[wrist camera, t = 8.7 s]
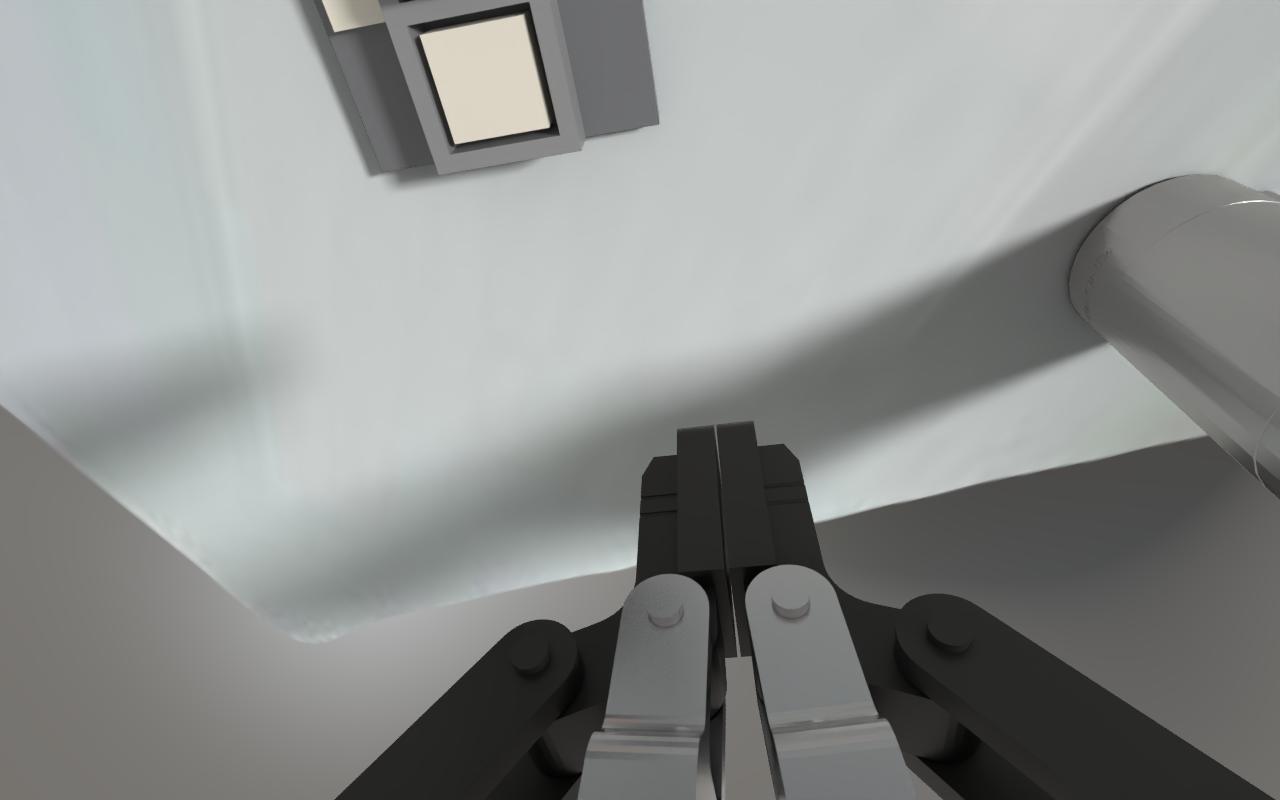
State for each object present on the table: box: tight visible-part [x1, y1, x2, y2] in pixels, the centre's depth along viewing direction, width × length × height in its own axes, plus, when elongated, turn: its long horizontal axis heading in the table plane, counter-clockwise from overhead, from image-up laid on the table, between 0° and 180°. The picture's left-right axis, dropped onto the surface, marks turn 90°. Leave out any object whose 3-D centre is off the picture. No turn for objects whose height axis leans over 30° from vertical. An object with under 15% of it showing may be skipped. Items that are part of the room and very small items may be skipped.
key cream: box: [420, 10, 555, 144], centre depth 29 cm, size 4×4×2 cm
